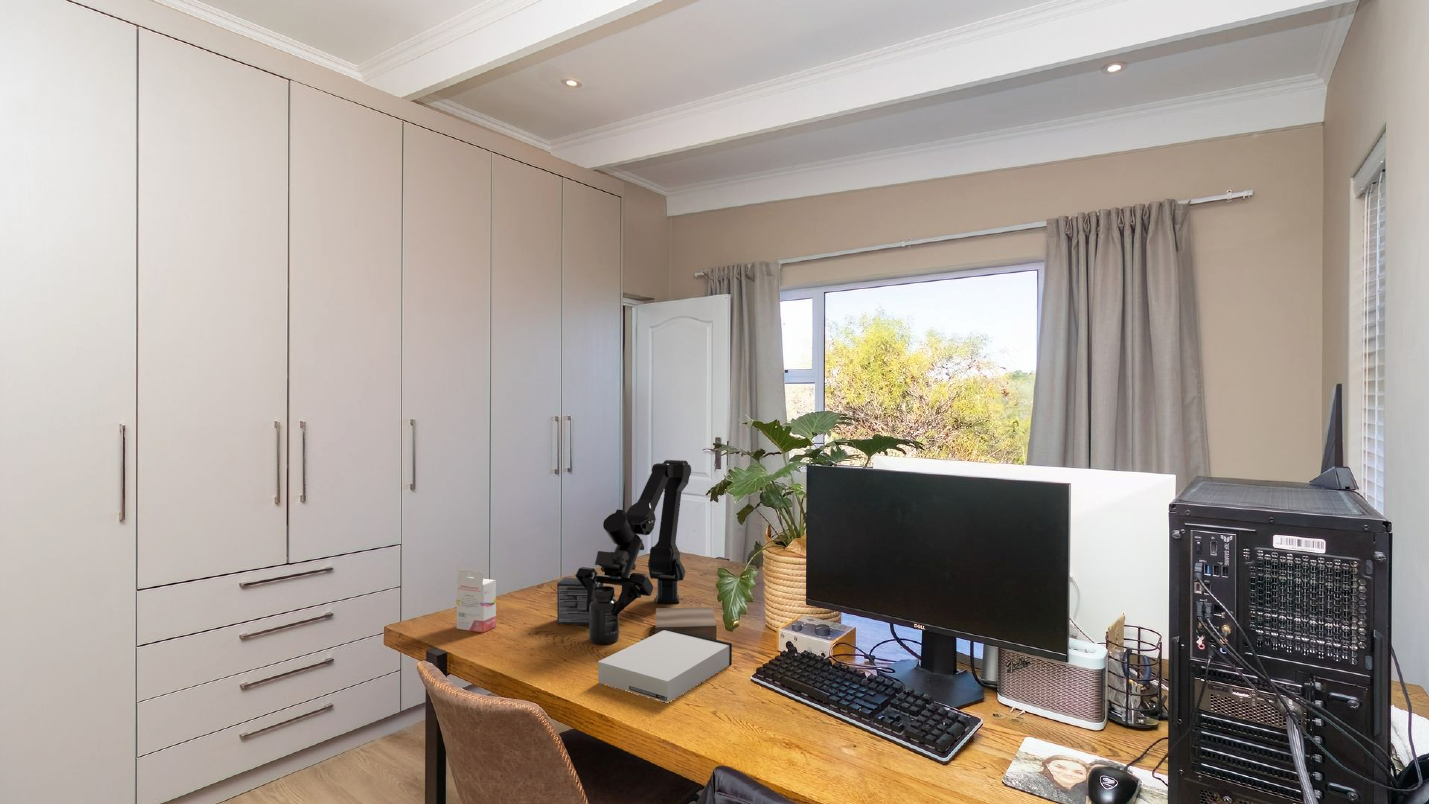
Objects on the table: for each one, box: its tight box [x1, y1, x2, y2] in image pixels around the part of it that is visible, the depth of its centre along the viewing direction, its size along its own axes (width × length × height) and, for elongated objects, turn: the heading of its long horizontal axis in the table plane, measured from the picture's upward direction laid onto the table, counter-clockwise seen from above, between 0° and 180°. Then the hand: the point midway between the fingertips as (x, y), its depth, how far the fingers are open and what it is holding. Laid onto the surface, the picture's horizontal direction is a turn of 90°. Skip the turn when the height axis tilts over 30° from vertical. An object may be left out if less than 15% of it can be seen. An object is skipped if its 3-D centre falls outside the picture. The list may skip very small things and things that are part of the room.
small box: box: [556, 577, 604, 626], centre depth 171 cm, size 11×6×10 cm, turn 84°
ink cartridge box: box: [455, 568, 497, 633], centre depth 166 cm, size 9×5×15 cm, turn 68°
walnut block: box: [655, 606, 718, 640], centre depth 162 cm, size 14×14×4 cm
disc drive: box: [597, 628, 733, 702], centre depth 139 cm, size 18×22×5 cm
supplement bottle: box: [588, 585, 620, 646], centre depth 158 cm, size 7×7×12 cm
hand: (600, 613), depth 157 cm, fingers closed on supplement bottle, 7 cm apart
